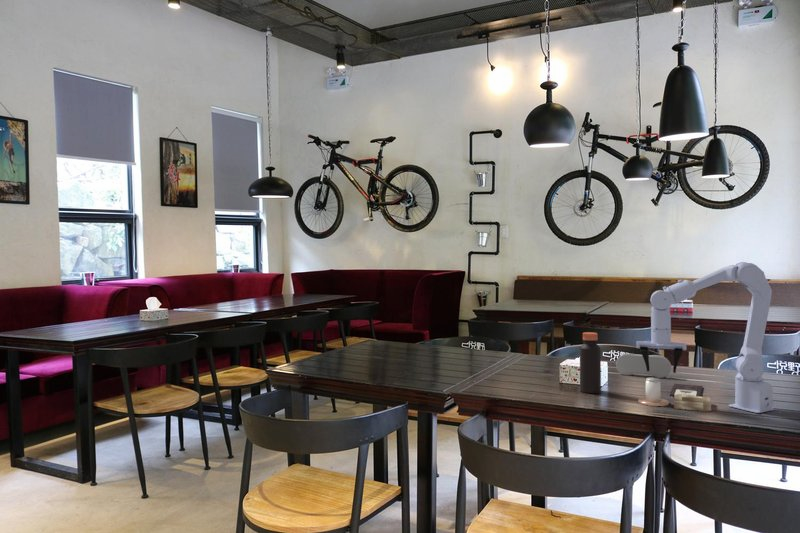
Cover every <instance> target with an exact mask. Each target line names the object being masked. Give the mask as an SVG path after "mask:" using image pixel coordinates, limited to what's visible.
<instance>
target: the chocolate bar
mask: <svg viewBox="0 0 800 533" xmlns="http://www.w3.org/2000/svg"><path fill="white" fill-rule="evenodd" d="M701 392H703V385H694V384H686V383H685V384H683V383H673V385H672V389H671V391H670V393H669V397H671V396H673V397H672V398H674V396H675V395H686V396H699V397H702V393H701Z"/></svg>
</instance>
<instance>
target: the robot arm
mask: <svg viewBox="0 0 800 533" xmlns="http://www.w3.org/2000/svg"><path fill="white" fill-rule="evenodd" d="M736 281H737V283H739V284H741V285H742V286H744V287H745V288H746V289H747V291H749V293H750V294H751V302H750V308H749V312H748V317H747V323H746V328H745V333H744V334H745V335H744V339H743V344H742V347H741V348H740V353H739V354H738V356H737V358H735V361H734V368H735V369H736V372H737V374H735V378H734V381H735V382H734V383H735V384H734V385H735V386H734V393H735V395H734V400H735V401H734V403H731V404H728V407H731V408H735V409H739V410H743V411H747V412H752V413H755V414H760V413H764V412H765V413H766V412H771V411H775V408H774V407H773V404H774V402H773V399H774V398H773V394H774V393H773V391H774V390H773V386H772V384H771V383H770V382H766V381H764V380H763V379H764V378H763V375H764V372H765V371H764V370H765V369H764V366H763V351H762V349H763V344H764V339H765V332H766V329H767V328H766V327H767V322H768V318H769V317H768V316H769V310H770V307H771V306H770V305H771V300H772V294H773V290H772V288H771V286H770V284H769V283H770V282H768V279H767V277H766V275H765V272H764V271H763V270H762V269H761V268H760V267H759V266H758V265H756V264H755V263H751V262H746V261H745V262H744V261H739V262H738V263H736V264H731V265H728V266H727V265H726V266H724V267H721V268H719V269H717V270H714V271H712V272H710V273H708V274H706V275H704V276H701V277H698V278H696V279H695V280H693V281H692V280H689V279H678V280H677V283H674V284H672V285H669V286H663V287H662V289H663V290H661V289H659V290H655V291H654V292H653V293H651V296H650V299H649V301H650V303H651V305H652V306H651V308H650V309H651V313H650V323H651V324H650V336H651V338H650V339H651V340H640V341H639V340H637V341H636V342H635V343H636V345H635V346H636V347H635V348H636V349H639V352H640V355H642V356H643V358H644V361H645V364H646V368H647V371H649V355H650V352H649V351H650V349H658V350H659V349H660V350H661V349H662V350H663V349H664V350H673V365H672V366H673V367H672V368H673V370H672V371H673V374H676V373H677V367H678V364H679V362H680V358H681V357H682V354H683V351H687V343H686V342H677V341H672V338H671V337H672V320H671V319H672V318H671V316H672V315H671V310H670V309H671V306H672V304H673V305H676V304H679V303H681V302H684V301H687V300H688V299H691V298H693V297H695V296H696V294H697V291H699V290H703V289H704V288H708V287H710V286H714V285H716V284H718V283H721V282H736Z"/></svg>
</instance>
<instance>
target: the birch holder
mask: <svg viewBox="0 0 800 533" xmlns="http://www.w3.org/2000/svg"><path fill="white" fill-rule="evenodd" d="M673 398H674V400H673V402H674V403H673V409H674V408H675V409H676V410H685V409H686V411H687V410H688V411H697V410H698V411H697V412H700V411H701V412H708V411H711V412H712V403H711V398H710V397H709V396H701V397H699V396H686V395H675V396H674V397H673Z"/></svg>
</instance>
